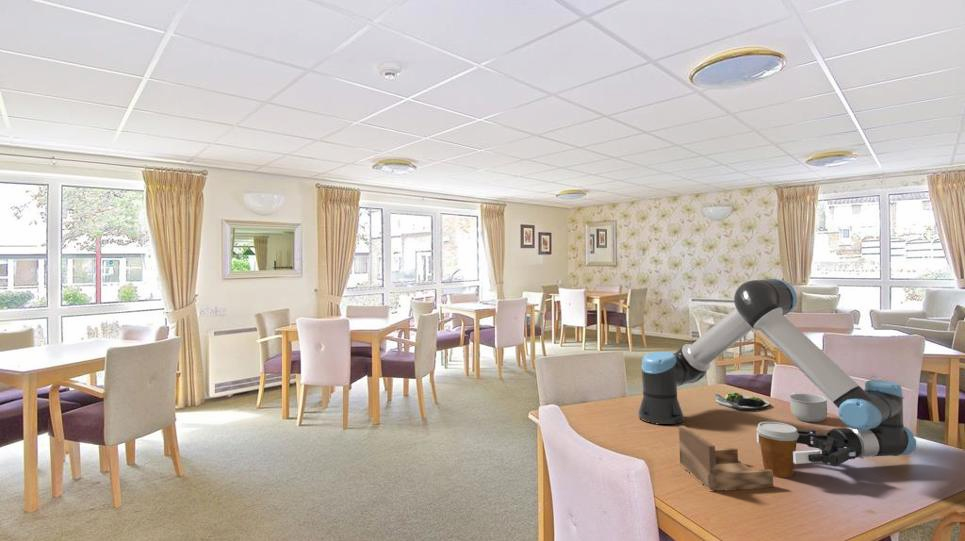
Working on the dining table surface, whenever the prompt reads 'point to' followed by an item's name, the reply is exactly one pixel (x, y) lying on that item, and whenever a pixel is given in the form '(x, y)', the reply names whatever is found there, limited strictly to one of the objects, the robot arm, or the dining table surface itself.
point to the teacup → (808, 407)
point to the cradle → (718, 465)
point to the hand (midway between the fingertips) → (774, 447)
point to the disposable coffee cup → (778, 447)
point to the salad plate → (742, 402)
